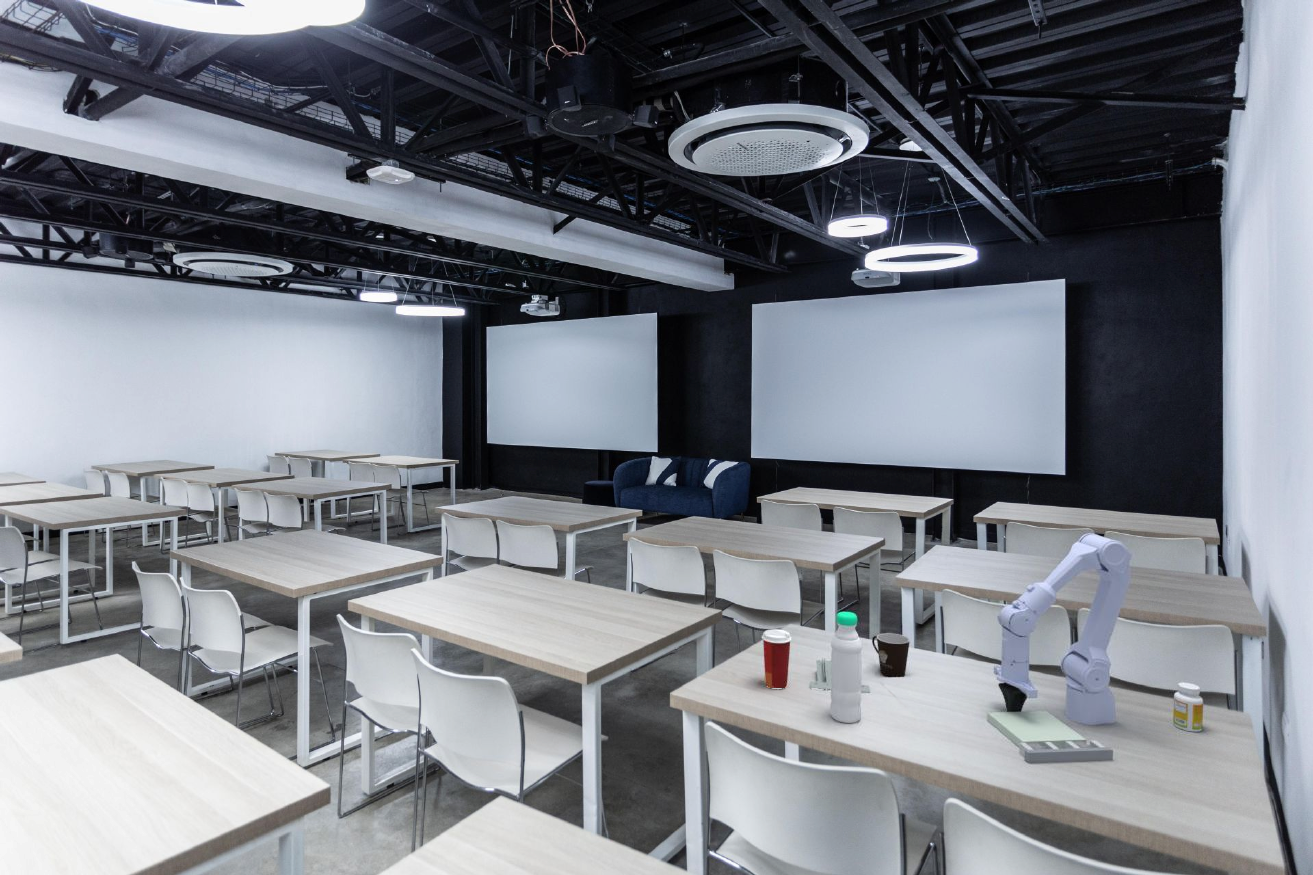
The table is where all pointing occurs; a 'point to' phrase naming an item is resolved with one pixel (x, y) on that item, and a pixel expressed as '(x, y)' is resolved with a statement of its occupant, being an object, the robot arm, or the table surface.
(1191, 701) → the supplement bottle
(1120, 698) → the table surface
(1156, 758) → the table surface
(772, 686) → the paper cup
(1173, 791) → the table surface
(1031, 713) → the door
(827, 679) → the metal bracket
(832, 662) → the water bottle
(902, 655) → the coffee mug
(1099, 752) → the jig board
